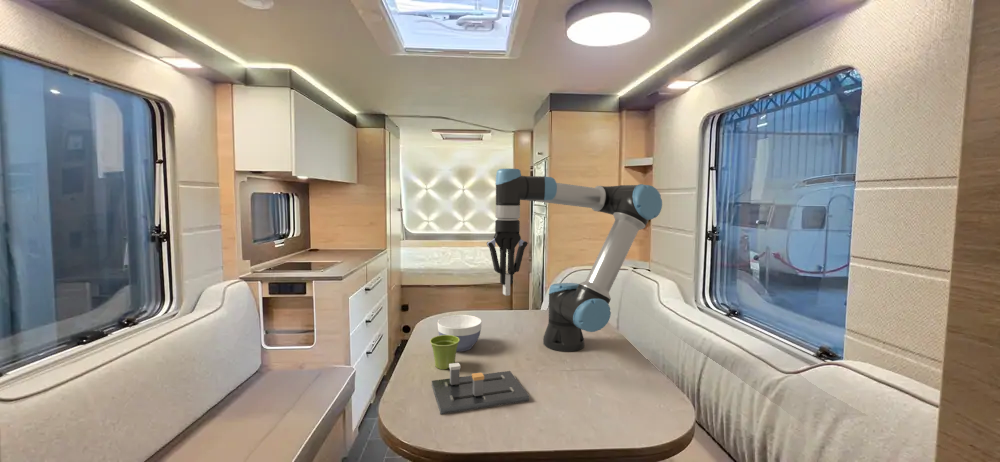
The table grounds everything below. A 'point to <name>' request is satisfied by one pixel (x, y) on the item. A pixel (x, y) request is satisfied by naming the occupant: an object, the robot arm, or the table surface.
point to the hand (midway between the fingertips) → (506, 294)
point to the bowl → (461, 329)
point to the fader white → (454, 373)
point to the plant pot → (444, 350)
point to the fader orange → (477, 384)
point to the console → (495, 393)
